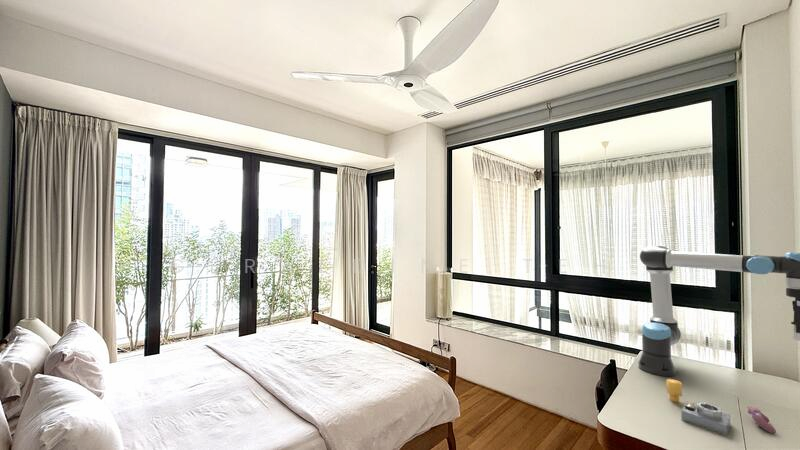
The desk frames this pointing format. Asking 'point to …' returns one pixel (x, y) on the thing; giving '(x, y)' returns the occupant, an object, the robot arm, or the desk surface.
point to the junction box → (706, 417)
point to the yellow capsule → (674, 389)
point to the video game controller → (760, 419)
